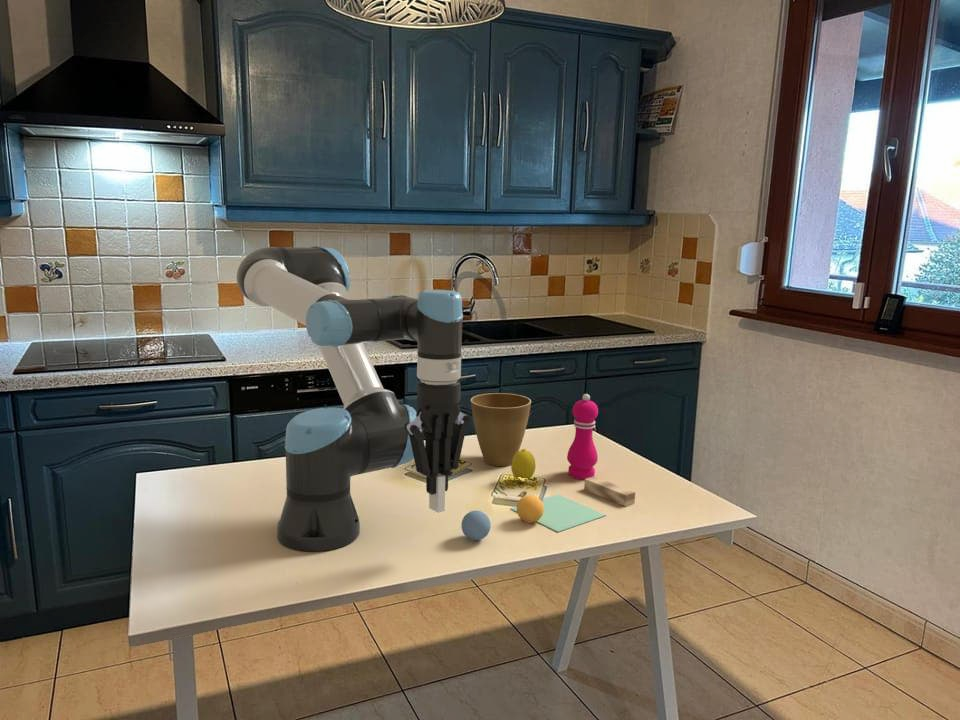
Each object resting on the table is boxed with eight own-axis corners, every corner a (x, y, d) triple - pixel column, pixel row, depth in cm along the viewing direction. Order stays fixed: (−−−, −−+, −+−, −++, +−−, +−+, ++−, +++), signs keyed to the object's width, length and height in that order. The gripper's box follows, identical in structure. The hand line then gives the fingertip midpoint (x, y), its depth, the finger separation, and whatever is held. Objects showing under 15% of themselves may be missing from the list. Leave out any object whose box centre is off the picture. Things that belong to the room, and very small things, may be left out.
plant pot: (507, 449, 192) (509, 390, 188) (539, 466, 179) (543, 403, 176) (458, 456, 184) (459, 395, 181) (488, 475, 172) (490, 410, 168)
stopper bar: (634, 503, 157) (635, 492, 157) (625, 506, 156) (626, 495, 155) (593, 486, 167) (593, 476, 166) (584, 489, 165) (584, 478, 164)
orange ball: (510, 521, 146) (511, 495, 145) (526, 513, 150) (528, 488, 149) (532, 529, 142) (533, 503, 141) (548, 521, 146) (550, 495, 145)
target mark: (557, 532, 141) (558, 531, 141) (510, 509, 152) (510, 508, 152) (605, 516, 150) (605, 515, 150) (557, 494, 161) (557, 494, 161)
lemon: (532, 487, 165) (534, 453, 163) (508, 484, 166) (510, 451, 164) (535, 479, 170) (537, 446, 169) (512, 476, 171) (514, 444, 170)
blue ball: (454, 538, 137) (455, 511, 136) (474, 530, 141) (475, 503, 140) (476, 548, 134) (477, 520, 132) (495, 538, 138) (497, 511, 137)
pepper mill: (570, 468, 179) (575, 389, 175) (599, 472, 176) (604, 392, 172) (562, 477, 172) (567, 395, 168) (592, 482, 169) (598, 399, 166)
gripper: (420, 388, 118) (418, 525, 123) (482, 379, 126) (478, 507, 131) (395, 380, 124) (394, 511, 128) (455, 372, 132) (453, 495, 136)
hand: (436, 509), depth 130 cm, fingers closed
